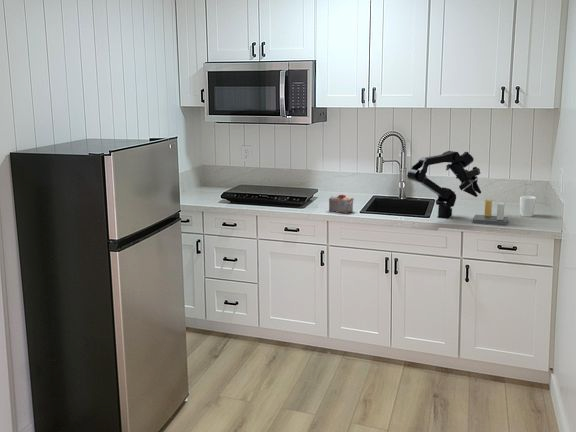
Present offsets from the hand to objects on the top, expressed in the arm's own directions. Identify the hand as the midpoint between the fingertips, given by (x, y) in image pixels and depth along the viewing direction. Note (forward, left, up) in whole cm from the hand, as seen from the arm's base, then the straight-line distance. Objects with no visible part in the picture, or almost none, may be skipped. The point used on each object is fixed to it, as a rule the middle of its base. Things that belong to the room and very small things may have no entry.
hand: (478, 194), depth 308 cm
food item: (-73, -10, -13) cm, 74 cm away
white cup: (+23, +13, -12) cm, 30 cm away
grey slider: (+12, -11, -10) cm, 19 cm away
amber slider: (+5, -5, -10) cm, 12 cm away
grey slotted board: (+7, -8, -12) cm, 16 cm away
